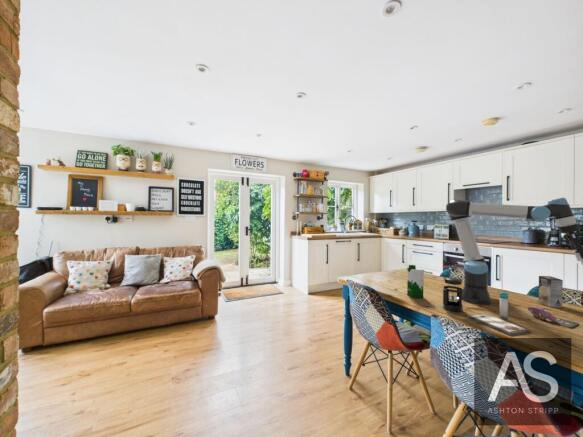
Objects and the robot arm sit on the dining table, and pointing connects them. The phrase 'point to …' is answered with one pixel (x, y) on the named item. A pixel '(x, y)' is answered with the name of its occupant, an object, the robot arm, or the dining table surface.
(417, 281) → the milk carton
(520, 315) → the dining table surface
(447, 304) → the black lantern
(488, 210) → the robot arm
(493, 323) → the tablet
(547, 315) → the purple oval lump
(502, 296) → the marker
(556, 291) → the coffee box
